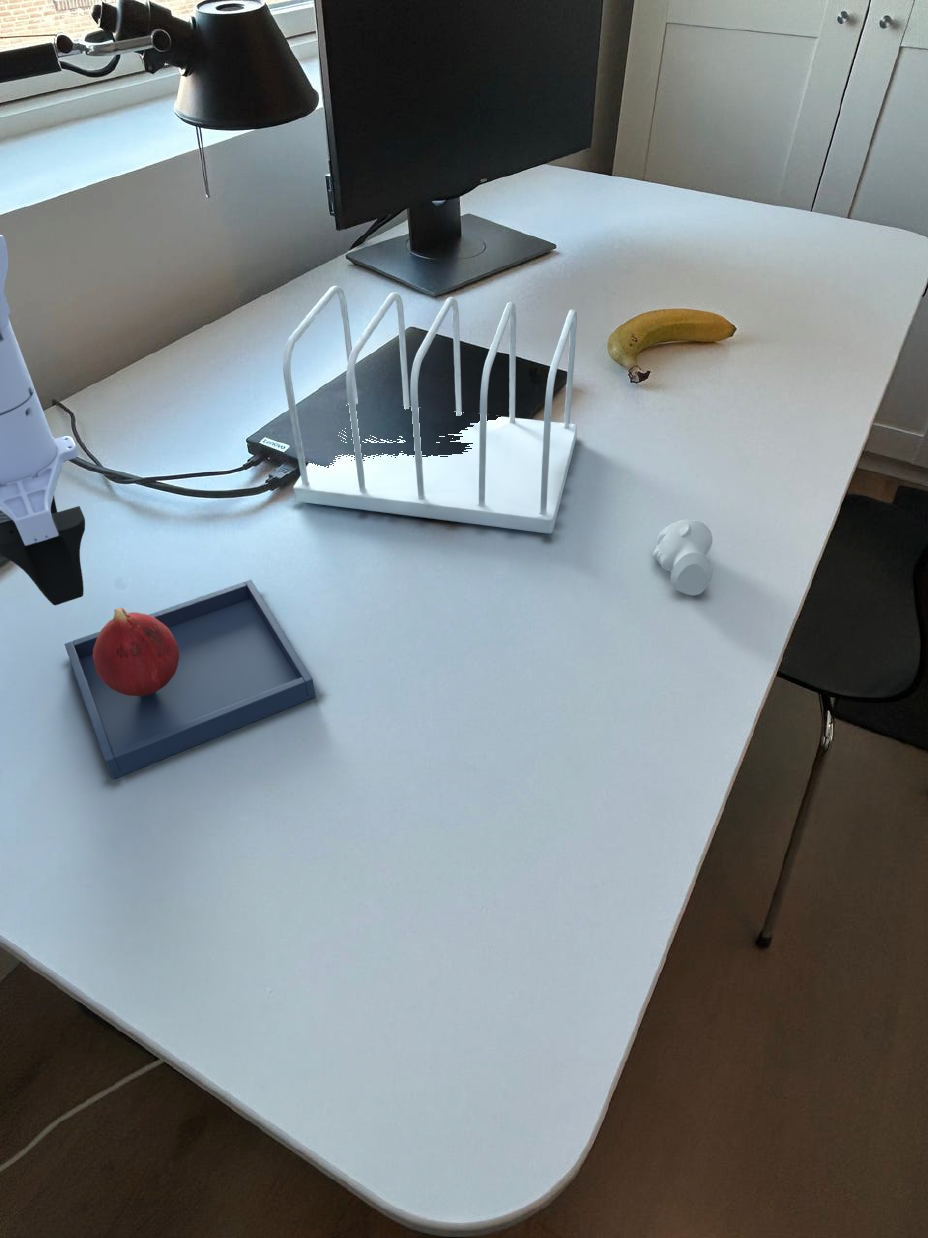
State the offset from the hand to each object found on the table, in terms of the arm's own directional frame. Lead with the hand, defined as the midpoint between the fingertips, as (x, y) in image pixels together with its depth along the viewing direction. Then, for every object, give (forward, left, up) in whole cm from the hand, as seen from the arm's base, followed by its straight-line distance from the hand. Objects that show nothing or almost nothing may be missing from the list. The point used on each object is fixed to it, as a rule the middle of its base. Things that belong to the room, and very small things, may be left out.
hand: (56, 567), depth 63 cm
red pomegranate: (+3, -6, -9) cm, 11 cm away
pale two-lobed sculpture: (+47, -15, -10) cm, 50 cm away
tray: (+6, -6, -9) cm, 13 cm away
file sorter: (+37, +9, -10) cm, 39 cm away
